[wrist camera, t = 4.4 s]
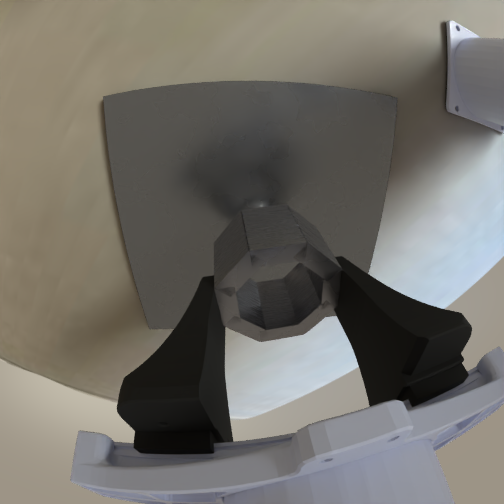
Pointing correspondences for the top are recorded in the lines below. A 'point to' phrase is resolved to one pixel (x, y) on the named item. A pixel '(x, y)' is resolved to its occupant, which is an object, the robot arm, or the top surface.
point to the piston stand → (241, 174)
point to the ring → (279, 290)
